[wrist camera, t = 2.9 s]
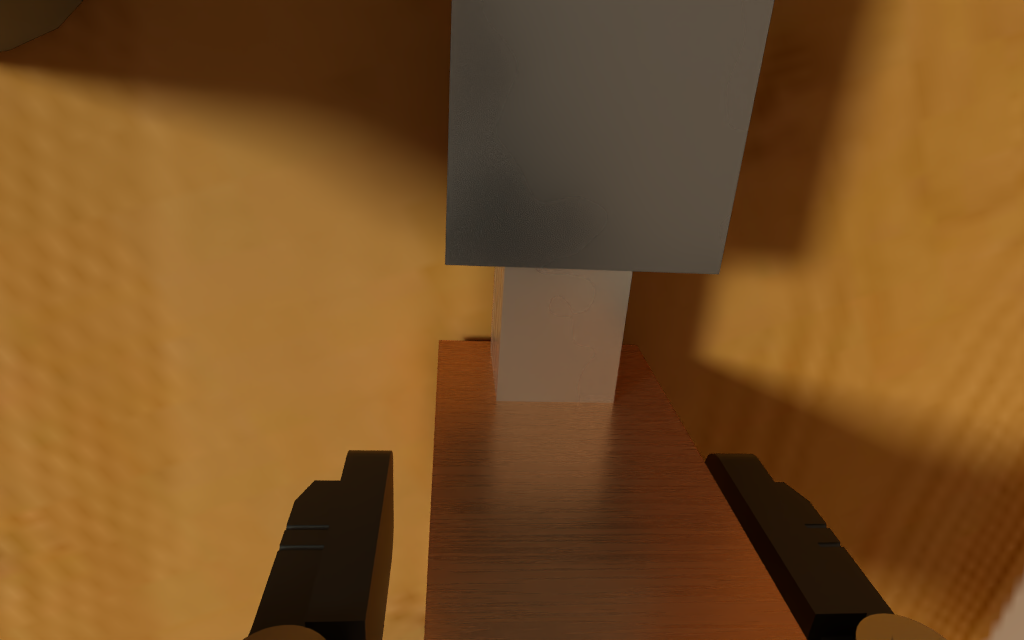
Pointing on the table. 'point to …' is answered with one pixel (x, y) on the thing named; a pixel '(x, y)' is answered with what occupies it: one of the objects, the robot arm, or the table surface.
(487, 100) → the sleeve
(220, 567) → the table surface
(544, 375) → the bar
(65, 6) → the olive green pawn
